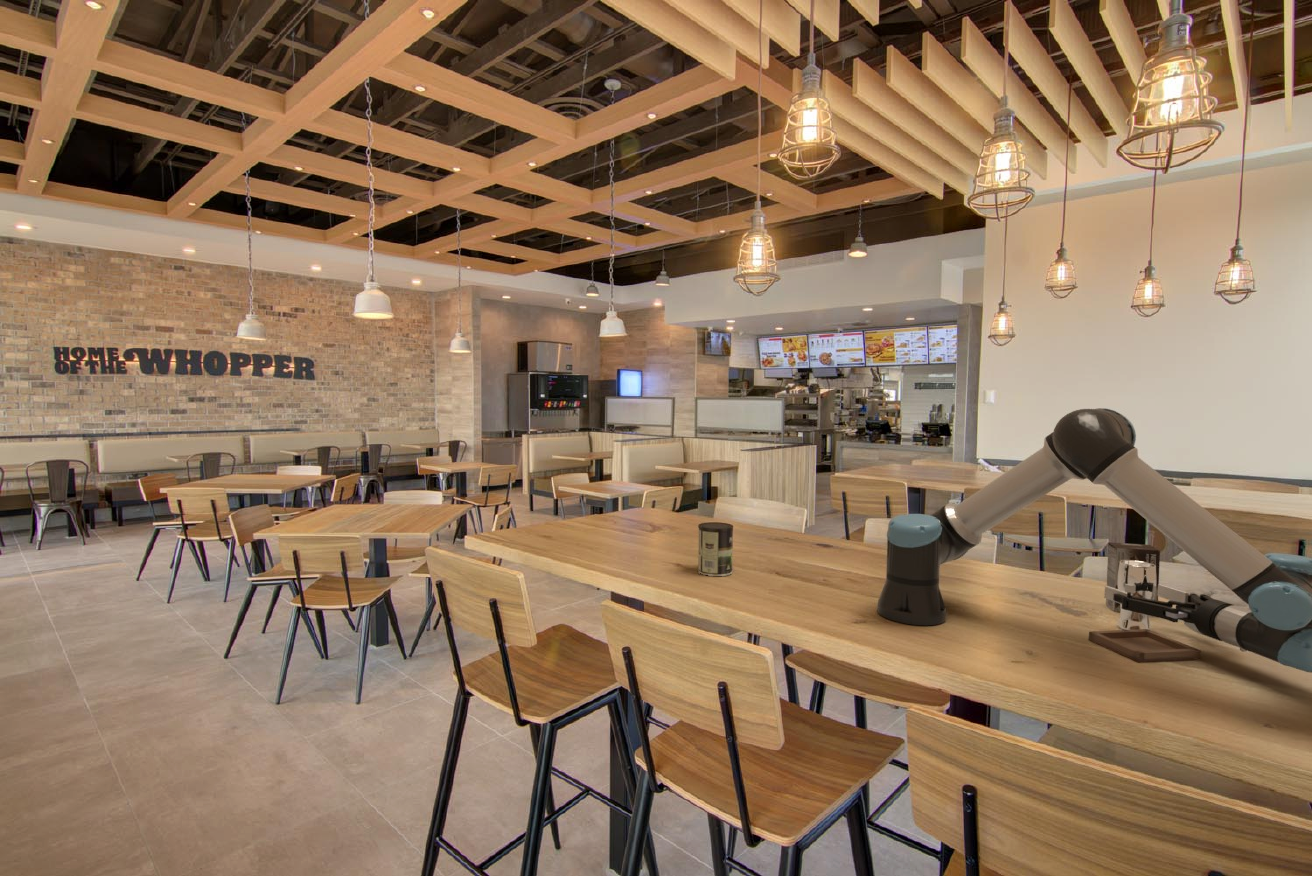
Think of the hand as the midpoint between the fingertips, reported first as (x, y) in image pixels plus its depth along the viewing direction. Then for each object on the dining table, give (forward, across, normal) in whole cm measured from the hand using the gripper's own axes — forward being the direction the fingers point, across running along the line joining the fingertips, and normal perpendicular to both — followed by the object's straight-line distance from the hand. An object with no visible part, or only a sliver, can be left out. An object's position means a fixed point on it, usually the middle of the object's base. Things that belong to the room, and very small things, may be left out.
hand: (1132, 590), depth 144 cm
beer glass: (-1, 0, -8) cm, 9 cm away
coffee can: (+55, -84, -9) cm, 101 cm away
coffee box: (+11, +11, -9) cm, 18 cm away
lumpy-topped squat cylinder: (-3, +18, -9) cm, 20 cm away
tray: (-12, -9, -8) cm, 17 cm away
